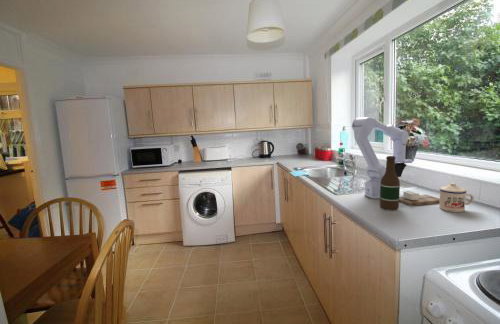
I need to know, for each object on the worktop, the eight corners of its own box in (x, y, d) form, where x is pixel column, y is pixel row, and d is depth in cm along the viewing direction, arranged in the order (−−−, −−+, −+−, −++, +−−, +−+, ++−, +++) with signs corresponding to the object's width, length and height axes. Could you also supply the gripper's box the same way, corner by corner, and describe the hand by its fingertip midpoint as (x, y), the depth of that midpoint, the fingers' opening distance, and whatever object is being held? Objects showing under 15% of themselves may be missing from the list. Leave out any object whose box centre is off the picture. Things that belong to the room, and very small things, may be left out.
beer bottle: (396, 206, 116) (398, 155, 113) (401, 211, 108) (403, 157, 105) (378, 205, 118) (379, 155, 115) (381, 210, 111) (382, 157, 108)
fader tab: (411, 200, 118) (411, 193, 117) (403, 197, 123) (403, 191, 122) (418, 199, 118) (419, 193, 118) (410, 196, 123) (410, 190, 123)
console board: (410, 206, 115) (410, 202, 115) (394, 200, 125) (394, 197, 125) (443, 202, 118) (443, 199, 118) (425, 197, 128) (425, 194, 127)
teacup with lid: (443, 211, 106) (444, 185, 104) (435, 205, 114) (436, 180, 113) (478, 213, 102) (480, 186, 100) (467, 207, 110) (469, 181, 109)
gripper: (392, 153, 129) (391, 178, 131) (417, 152, 132) (415, 177, 133) (383, 152, 136) (382, 176, 138) (406, 151, 139) (405, 174, 140)
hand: (398, 176), depth 136 cm, fingers closed
